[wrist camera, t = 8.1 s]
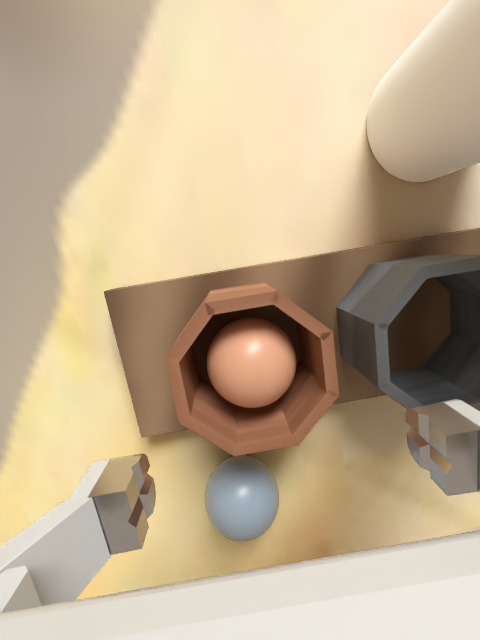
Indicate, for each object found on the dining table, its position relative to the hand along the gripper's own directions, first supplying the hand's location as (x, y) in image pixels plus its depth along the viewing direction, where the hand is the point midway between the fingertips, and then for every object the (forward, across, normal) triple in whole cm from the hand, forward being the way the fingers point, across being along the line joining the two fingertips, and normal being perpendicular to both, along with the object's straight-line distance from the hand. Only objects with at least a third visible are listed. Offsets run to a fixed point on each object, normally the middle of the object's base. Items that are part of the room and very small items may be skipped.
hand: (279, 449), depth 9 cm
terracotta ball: (+8, 0, 0) cm, 8 cm away
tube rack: (+12, +5, 0) cm, 13 cm away
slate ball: (+9, -2, -10) cm, 14 cm away
